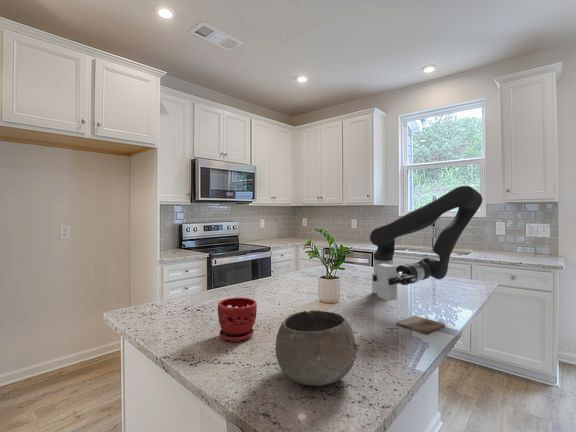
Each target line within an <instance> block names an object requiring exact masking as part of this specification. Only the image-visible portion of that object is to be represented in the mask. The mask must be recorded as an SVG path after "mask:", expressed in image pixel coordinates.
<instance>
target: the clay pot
mask: <svg viewBox="0 0 576 432" xmlns="http://www.w3.org/2000/svg"><path fill="white" fill-rule="evenodd" d="M274 349H275V358H276V361H277V363H278V365H279V368H280V369H281V371H282V372H283V373H284V375H286V377H288V378H289V380H290V379H291V380H292V381H293V382H294V383H297V384H301V385H304V386H311V387H312V386H314V387H318V386H322V387H323V386H326V385H330V384H334V383H336V382H339V381H340V380H341V379H343V378H344V377H345V376H346V375H347V374H348V373H349V372H350V371H351V369H352V368H353V367H354V364H355V362H356V359H357V353H358V352H359V345H358V344H357V341H356V337H355V334H354V332H353V329H352V327H351V324H350V323H349V322H348V320H347V319H346V318H345V317H344V316H343V315H341V314H339V313H336V312H333V311H332V312H331V311H324V310H312V309H311V310H309V311H307V310H303V311H300V312H296V313H293V314H291V315H289V316H287V317H286V318H285V319H284V320H283V322H282V323H281V324H280V326H279V328H278V332H277V335H276V340H275V348H274Z"/></svg>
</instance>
